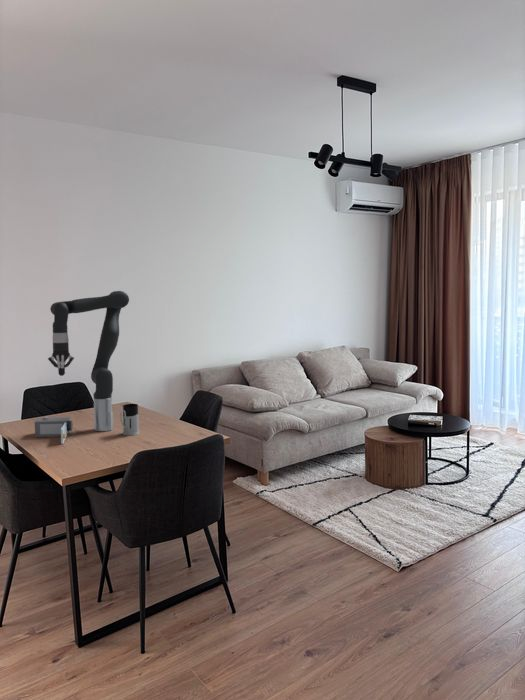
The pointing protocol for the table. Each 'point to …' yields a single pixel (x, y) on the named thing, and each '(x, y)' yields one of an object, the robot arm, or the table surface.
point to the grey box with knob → (52, 426)
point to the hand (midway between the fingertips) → (61, 375)
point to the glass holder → (130, 419)
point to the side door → (63, 433)
